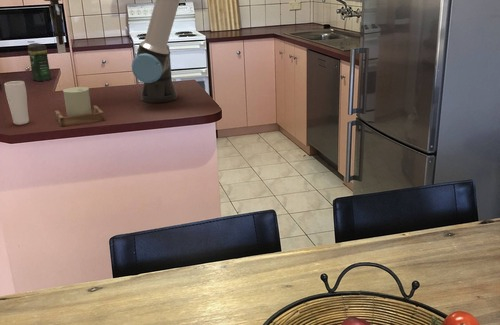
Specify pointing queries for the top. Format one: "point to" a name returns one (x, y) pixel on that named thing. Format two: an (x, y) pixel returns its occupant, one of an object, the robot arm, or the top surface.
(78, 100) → the can
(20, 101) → the drinking glass
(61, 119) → the corral
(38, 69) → the coffee jar
